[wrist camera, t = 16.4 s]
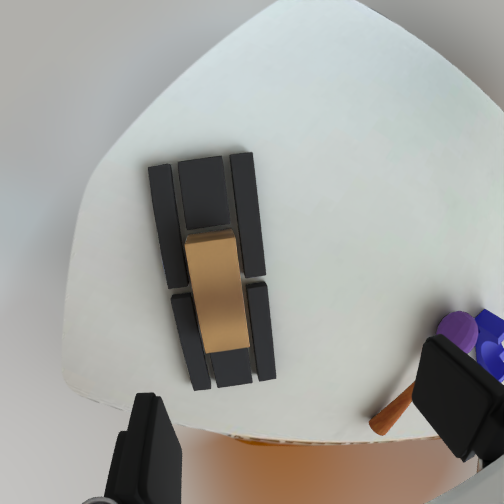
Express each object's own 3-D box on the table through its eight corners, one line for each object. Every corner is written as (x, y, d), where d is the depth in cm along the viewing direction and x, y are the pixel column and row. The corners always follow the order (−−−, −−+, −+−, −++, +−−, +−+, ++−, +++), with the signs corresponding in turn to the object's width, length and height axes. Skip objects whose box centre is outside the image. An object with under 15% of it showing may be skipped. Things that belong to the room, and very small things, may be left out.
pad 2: (171, 294, 29) (170, 299, 28) (265, 281, 30) (267, 285, 29) (194, 384, 32) (193, 391, 31) (274, 372, 33) (276, 378, 32)
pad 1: (150, 167, 26) (147, 167, 25) (250, 153, 27) (252, 152, 26) (169, 284, 29) (168, 289, 28) (263, 271, 30) (266, 275, 28)
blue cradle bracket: (494, 351, 39) (515, 367, 33) (477, 368, 39) (498, 385, 34) (490, 302, 36) (516, 317, 30) (472, 320, 36) (498, 338, 30)
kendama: (367, 436, 33) (469, 314, 28) (358, 409, 39) (447, 297, 34) (396, 445, 33) (493, 333, 29) (386, 419, 39) (470, 315, 35)
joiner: (187, 234, 28) (184, 244, 24) (231, 228, 28) (235, 237, 24) (205, 332, 30) (205, 353, 27) (245, 326, 31) (250, 347, 27)
